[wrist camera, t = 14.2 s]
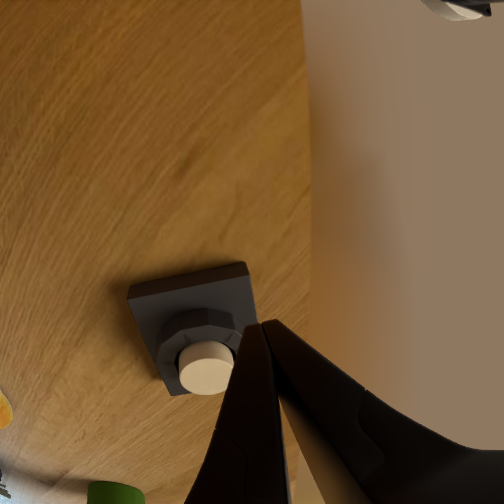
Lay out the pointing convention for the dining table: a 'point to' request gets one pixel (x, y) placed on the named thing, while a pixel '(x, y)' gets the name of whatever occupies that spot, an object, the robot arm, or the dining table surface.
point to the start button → (205, 367)
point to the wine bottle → (113, 494)
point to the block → (192, 314)
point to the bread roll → (5, 411)
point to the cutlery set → (3, 492)
